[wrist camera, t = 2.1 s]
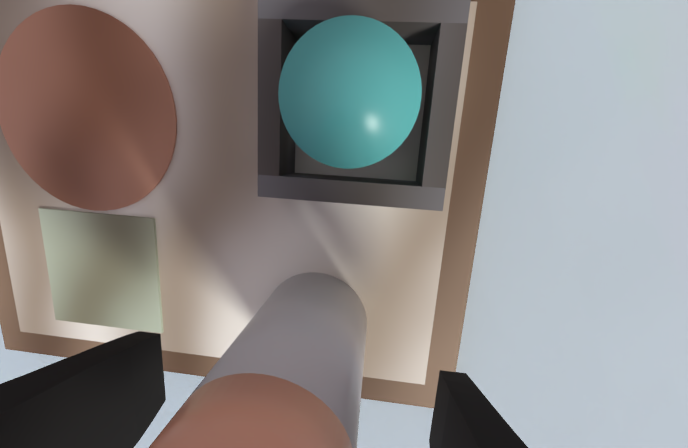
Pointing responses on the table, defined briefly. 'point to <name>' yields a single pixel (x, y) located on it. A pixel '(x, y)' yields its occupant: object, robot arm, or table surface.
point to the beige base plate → (233, 180)
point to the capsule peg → (283, 375)
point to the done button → (350, 91)
